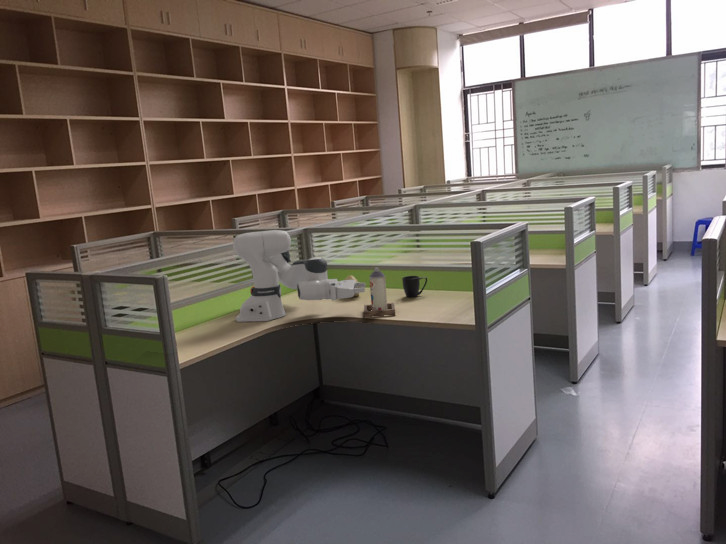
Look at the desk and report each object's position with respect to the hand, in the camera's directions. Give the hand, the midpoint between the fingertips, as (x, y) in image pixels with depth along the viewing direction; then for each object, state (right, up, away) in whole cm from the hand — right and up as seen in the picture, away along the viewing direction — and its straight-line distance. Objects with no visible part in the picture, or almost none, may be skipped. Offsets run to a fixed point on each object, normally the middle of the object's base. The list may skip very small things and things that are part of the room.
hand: (365, 287), depth 268 cm
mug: (+25, -5, +30) cm, 39 cm away
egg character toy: (-6, -6, +41) cm, 41 cm away
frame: (+6, -11, +2) cm, 13 cm away
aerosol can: (+7, -11, +2) cm, 13 cm away
